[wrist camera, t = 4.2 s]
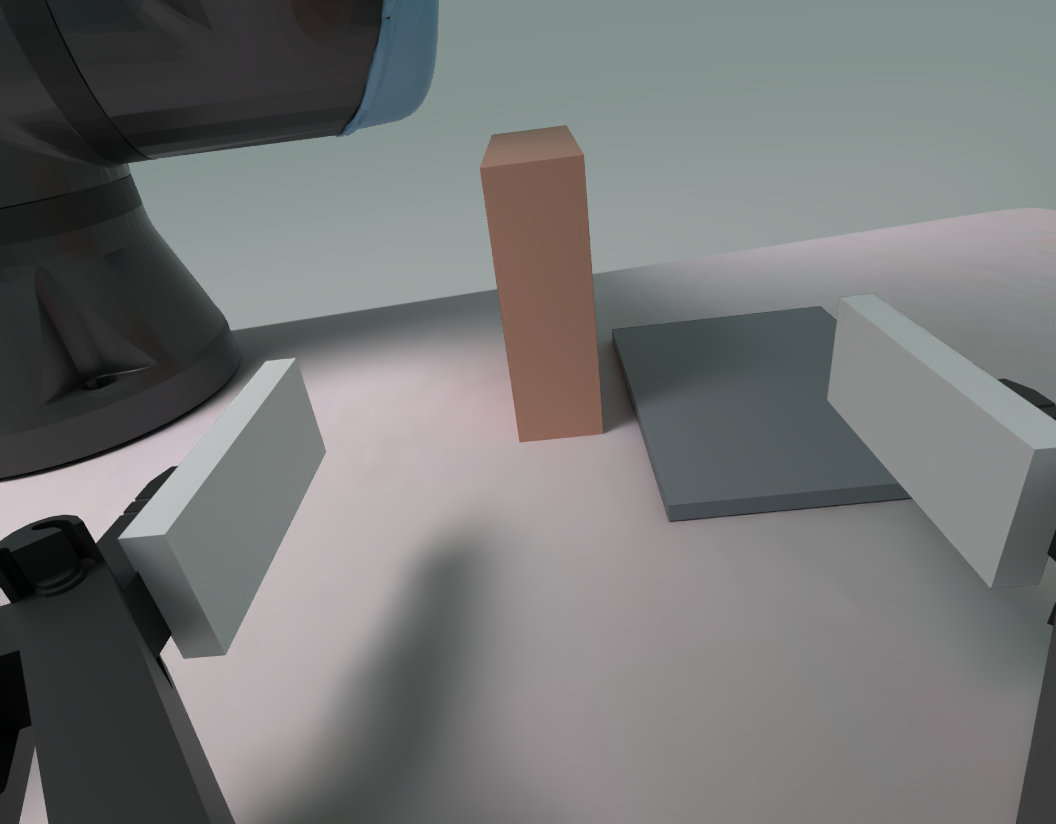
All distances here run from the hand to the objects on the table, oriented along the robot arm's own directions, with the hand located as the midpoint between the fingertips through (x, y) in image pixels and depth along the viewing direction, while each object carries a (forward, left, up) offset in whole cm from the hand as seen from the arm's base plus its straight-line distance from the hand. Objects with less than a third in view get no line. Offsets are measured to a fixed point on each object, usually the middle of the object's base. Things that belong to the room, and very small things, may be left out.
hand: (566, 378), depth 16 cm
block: (0, +11, -6) cm, 13 cm away
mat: (+8, +8, -6) cm, 13 cm away
